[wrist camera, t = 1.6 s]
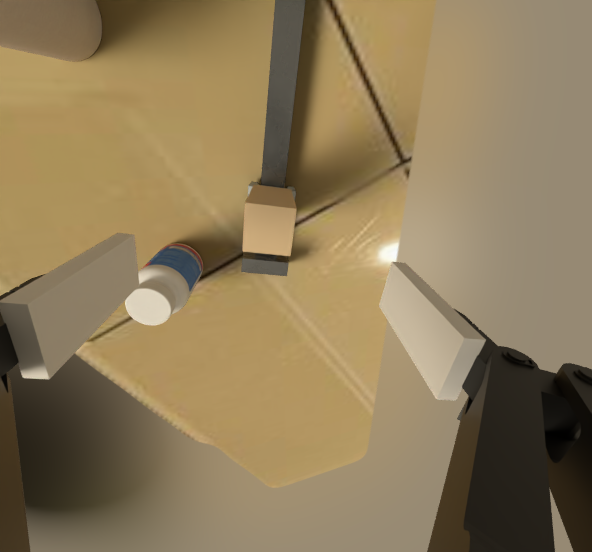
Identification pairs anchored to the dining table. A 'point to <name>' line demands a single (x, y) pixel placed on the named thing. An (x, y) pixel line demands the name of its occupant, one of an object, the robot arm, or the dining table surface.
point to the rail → (279, 116)
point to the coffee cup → (51, 27)
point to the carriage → (269, 219)
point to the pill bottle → (165, 284)
